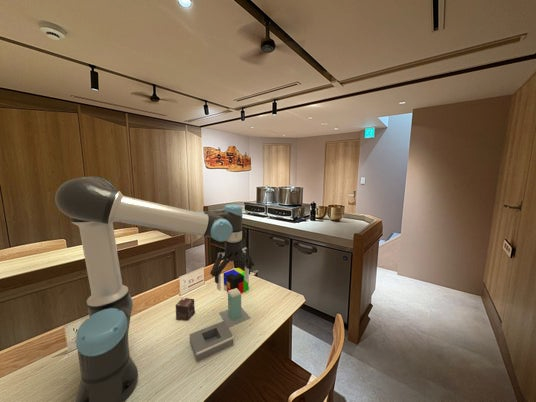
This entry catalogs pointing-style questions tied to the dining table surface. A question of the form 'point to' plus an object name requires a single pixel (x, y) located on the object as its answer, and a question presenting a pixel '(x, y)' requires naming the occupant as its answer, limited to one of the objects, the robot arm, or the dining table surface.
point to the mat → (230, 322)
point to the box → (185, 309)
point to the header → (210, 340)
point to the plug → (234, 303)
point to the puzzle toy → (235, 280)
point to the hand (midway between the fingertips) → (233, 285)
